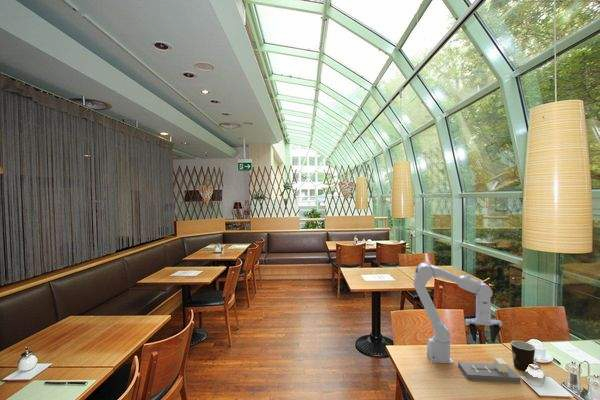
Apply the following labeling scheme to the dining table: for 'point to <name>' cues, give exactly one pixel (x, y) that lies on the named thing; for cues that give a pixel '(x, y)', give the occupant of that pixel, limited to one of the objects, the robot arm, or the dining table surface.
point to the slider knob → (500, 365)
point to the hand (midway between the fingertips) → (483, 341)
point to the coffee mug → (522, 354)
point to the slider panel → (487, 372)
